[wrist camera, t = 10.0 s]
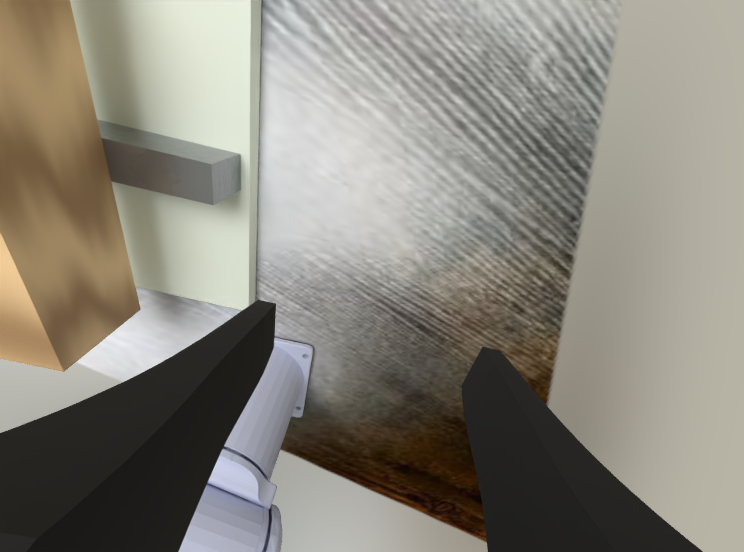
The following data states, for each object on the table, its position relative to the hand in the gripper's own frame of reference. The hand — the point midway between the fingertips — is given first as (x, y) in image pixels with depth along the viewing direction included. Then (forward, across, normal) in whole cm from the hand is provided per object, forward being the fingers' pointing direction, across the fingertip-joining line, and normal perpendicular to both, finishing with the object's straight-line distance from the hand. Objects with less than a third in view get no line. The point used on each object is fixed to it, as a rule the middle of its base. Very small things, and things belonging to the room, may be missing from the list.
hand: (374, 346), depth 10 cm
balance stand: (+10, +15, -2) cm, 19 cm away
